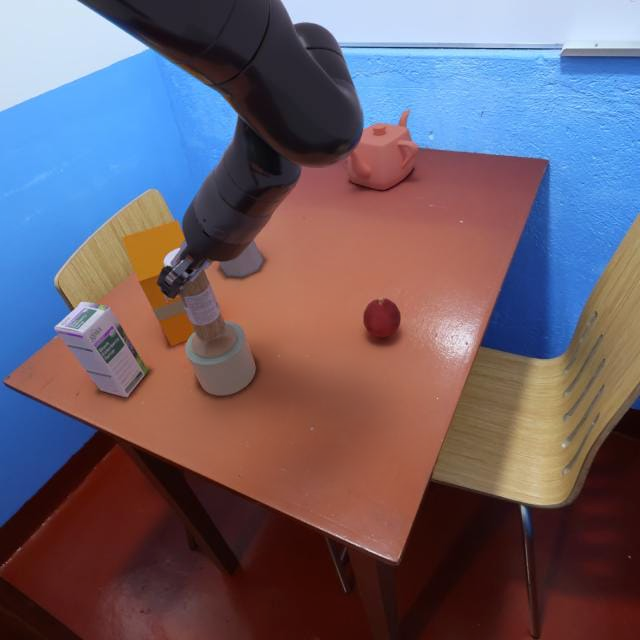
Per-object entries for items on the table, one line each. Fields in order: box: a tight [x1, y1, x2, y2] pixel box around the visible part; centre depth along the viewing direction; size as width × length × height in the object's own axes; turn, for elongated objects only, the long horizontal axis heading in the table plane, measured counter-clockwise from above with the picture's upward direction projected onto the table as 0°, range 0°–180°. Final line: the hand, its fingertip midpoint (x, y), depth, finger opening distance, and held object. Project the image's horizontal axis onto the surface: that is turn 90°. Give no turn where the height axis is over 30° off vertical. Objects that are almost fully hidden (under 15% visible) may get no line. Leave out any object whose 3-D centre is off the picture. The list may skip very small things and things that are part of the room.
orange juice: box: [121, 219, 195, 347], centre depth 77 cm, size 8×9×20 cm
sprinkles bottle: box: [164, 248, 226, 341], centre depth 63 cm, size 5×5×13 cm
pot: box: [347, 109, 420, 191], centre depth 111 cm, size 18×17×12 cm
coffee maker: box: [219, 239, 264, 279], centre depth 90 cm, size 15×9×18 cm, turn 31°
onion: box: [362, 297, 402, 338], centre depth 73 cm, size 6×6×8 cm
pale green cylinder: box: [184, 320, 257, 397], centre depth 72 cm, size 9×9×8 cm
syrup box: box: [53, 301, 149, 398], centre depth 71 cm, size 6×6×14 cm
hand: (180, 280), depth 62 cm, fingers closed on sprinkles bottle, 4 cm apart
